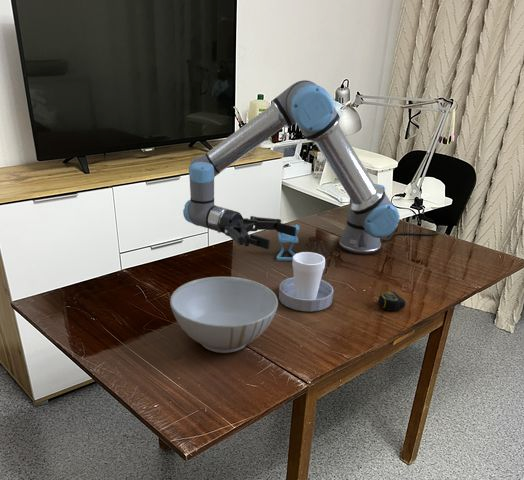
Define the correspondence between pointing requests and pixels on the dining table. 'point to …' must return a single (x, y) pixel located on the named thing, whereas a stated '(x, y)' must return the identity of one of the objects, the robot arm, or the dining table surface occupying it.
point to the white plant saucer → (317, 304)
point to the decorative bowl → (224, 311)
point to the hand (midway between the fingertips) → (282, 238)
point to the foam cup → (307, 274)
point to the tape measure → (391, 301)
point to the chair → (287, 238)
